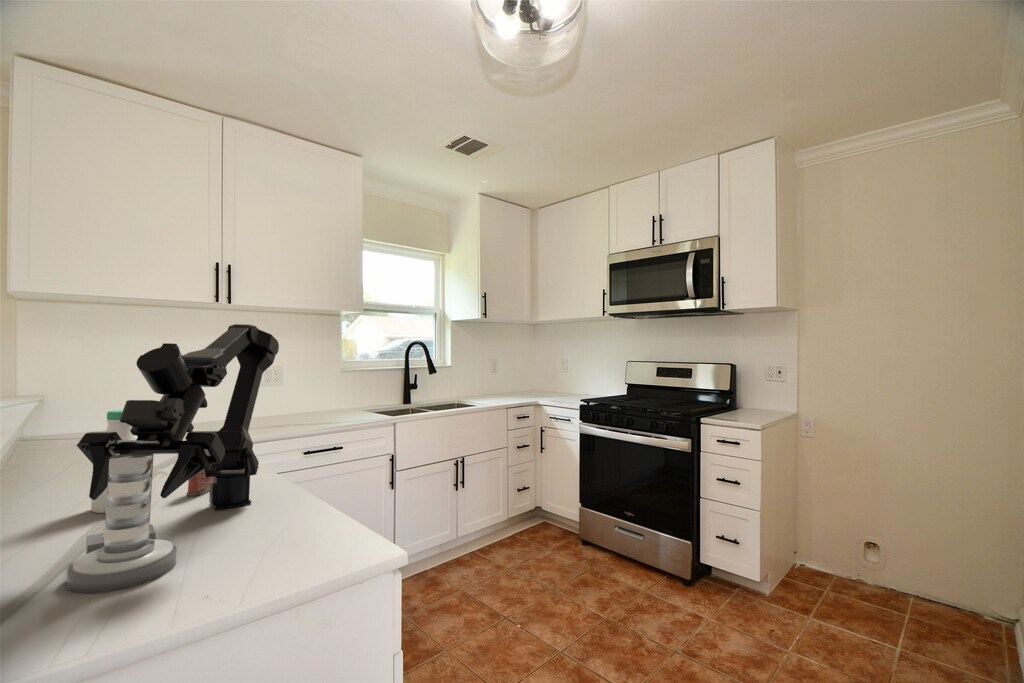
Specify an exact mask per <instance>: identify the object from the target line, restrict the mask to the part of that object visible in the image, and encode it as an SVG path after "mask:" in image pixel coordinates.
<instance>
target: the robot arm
mask: <svg viewBox="0 0 1024 683" xmlns="http://www.w3.org/2000/svg"><path fill="white" fill-rule="evenodd" d="M279 346H280V344H279V341H278V340H277V338H275V336H274V335H272V334H271V333H268V332H266V331H264V330H262V329H259V328H258V327H257V326H256V325H253V324H246V323H245V324H243V323H242V324H240V323H239V324H238V323H237V324H235V323H234V324H231V325H229V326H228V328H227V330H226V331H225V332H223V333H222V334H221V335H220V336H219V337H217V338H216V339H215V340H213V341H212V342H211V343H210V344H208V345H207V346H206V347H205V348H203V349H200V350H196V351H195V350H194V351H189V352H187V353H185V354H183V355H182V353H181V351H180V347H179V346H178V344H177V343H169V342H168V343H162V345H161V346H160V347H157V348H154V349H150V350H148V351H146V352H145V353H144V354H141V355H139V357H138V358H137V360H136V367H137V368H138V370H139V371H140V373H141V375H142V376H143V378H144V379H145V381H146V382H147V384H148V386H149V387H150V388H151V390H152V391H153V392H154V393H155V394H159V395H162V396H161V397H160V399H159V400H153V399H150V400H149V399H145V400H144V399H138V400H137V399H131V400H130V399H128V400H126V401H125V404H124V407H123V409H122V410H123V412H122V415H121V418H120V422H121V423H124V422H125V423H126V424H128V425H130V426H132V428H131V430H130V432H131V433H132V435H137V437H138V438H137V439H136V440H122V439H121V438H120V436H119V435H118V434H117V432H106V431H91V432H86V433H84V435H82V437H81V438H80V439H79V441H78V442H77V444H76V447H77V448H78V449H79V450H80V452H82V453H83V455H84V456H85V457H86V458H87V459H88V461H90V463H91V464H92V475H91V482H90V486H89V487H90V488H89V495H88V497H89V498H90V500H91V501H92V500H96V499H97V498H98V497H99V496H100V495H101V494H102V493H103V492H104V490H105V489H106V488H107V487H108V470H109V458H110V457H112V456H117V455H122V454H131V453H152V454H154V455H177V459H176V462H175V464H174V466H173V467H172V469H171V471H170V473H169V474H168V477H167V478H166V480H165V482H164V484H163V486H162V488H161V491H160V493H159V495H160V496H161V498H162V499H166V498H168V497H169V496H170V495H172V493H174V492H175V491H176V490H178V489H179V488H180V487H181V486H183V484H185V483H186V482H188V480H189V479H190V478H191V477H193V476H194V475H196V474H197V473H199V472H200V471H202V470H203V469H205V476H206V477H214V480H213V483H211V484H210V492H209V500H208V502H209V503H210V504H209V505H211V506H212V507H213V508H214V509H215V510H216V511H217V510H223V509H230V508H234V507H235V506H236V507H240V505H241V506H246V505H245V504H247V505H251V504H252V500H251V499H250V489H251V487H250V484H251V476H256V475H257V473H258V470H259V460H258V458H257V456H256V454H255V452H254V450H253V449H254V448H253V447H254V443H253V440H252V438H251V434H250V433H249V429H250V425H251V421H252V417H253V412H254V409H255V405H256V402H257V401H256V400H257V397H258V394H259V390H260V386H261V381H262V377H263V373H264V372H266V371H267V370H268V368H270V367H272V365H273V364H274V361H275V359H276V355H277V354H278V353H279V351H280V350H279V349H280V347H279ZM235 358H236V359H237V362H238V364H239V370H238V373H237V378H236V380H235V384H234V388H233V391H232V394H231V398H230V401H229V405H228V409H227V413H226V415H225V420H224V423H223V425H222V427H221V428H220V429H219V430H218V431H217V430H216V431H215V430H207V431H205V430H204V431H203V430H202V431H201V430H200V431H199V430H198V431H196V430H195V431H193V430H194V428H195V427H194V425H193V422H194V421H193V420H194V418H195V417H196V415H197V413H198V411H199V409H207V407H208V400H207V399H206V393H205V391H204V390H203V388H216V387H218V386H219V385H220V384H221V383H222V382H223V380H224V379H225V377H226V376H227V374H228V371H227V366H228V364H230V362H232V361H233V360H234V359H235ZM184 439H185V440H184ZM250 503H251V504H250ZM236 507H235V508H236Z"/></svg>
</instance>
